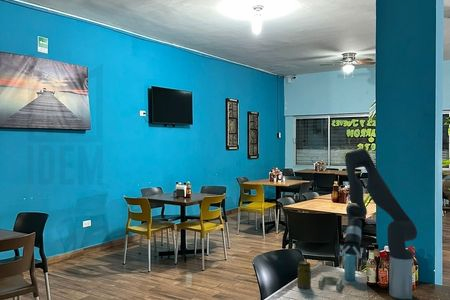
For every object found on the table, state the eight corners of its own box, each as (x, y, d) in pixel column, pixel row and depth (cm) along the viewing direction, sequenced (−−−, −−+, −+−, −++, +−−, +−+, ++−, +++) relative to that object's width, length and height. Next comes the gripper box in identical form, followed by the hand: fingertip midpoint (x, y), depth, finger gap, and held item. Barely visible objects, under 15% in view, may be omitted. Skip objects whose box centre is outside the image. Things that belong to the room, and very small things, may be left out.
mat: (363, 278, 199) (363, 277, 199) (360, 286, 189) (360, 284, 189) (340, 275, 203) (340, 274, 203) (336, 282, 193) (336, 281, 193)
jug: (356, 278, 197) (356, 254, 197) (353, 283, 191) (354, 258, 190) (345, 276, 200) (345, 253, 199) (342, 281, 193) (342, 256, 193)
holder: (343, 285, 190) (343, 277, 190) (339, 292, 181) (339, 284, 180) (321, 282, 194) (321, 274, 194) (317, 288, 185) (317, 281, 185)
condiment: (303, 284, 190) (303, 259, 190) (317, 289, 184) (318, 263, 184) (293, 288, 186) (293, 262, 185) (307, 293, 179) (307, 266, 179)
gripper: (338, 231, 205) (333, 259, 195) (367, 234, 199) (364, 263, 189) (339, 239, 210) (335, 267, 200) (368, 242, 204) (365, 271, 194)
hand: (349, 265), depth 195 cm, fingers open, 8 cm apart
